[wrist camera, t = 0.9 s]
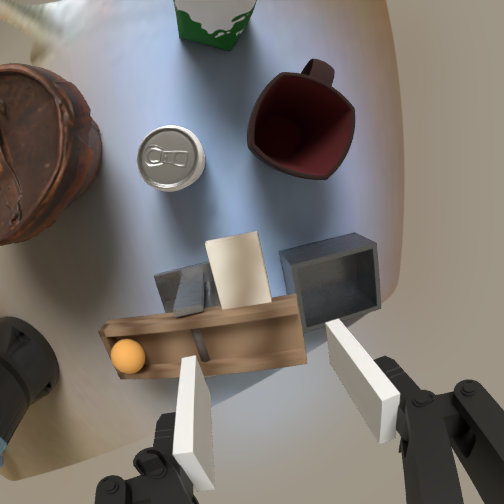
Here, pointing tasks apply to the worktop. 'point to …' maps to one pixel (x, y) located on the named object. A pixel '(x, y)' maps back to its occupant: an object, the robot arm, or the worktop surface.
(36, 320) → the worktop surface
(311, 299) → the tin
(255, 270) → the lever
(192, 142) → the can
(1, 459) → the toy figure
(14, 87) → the case
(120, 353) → the ball
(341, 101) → the cup
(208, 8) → the milk carton
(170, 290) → the stand
